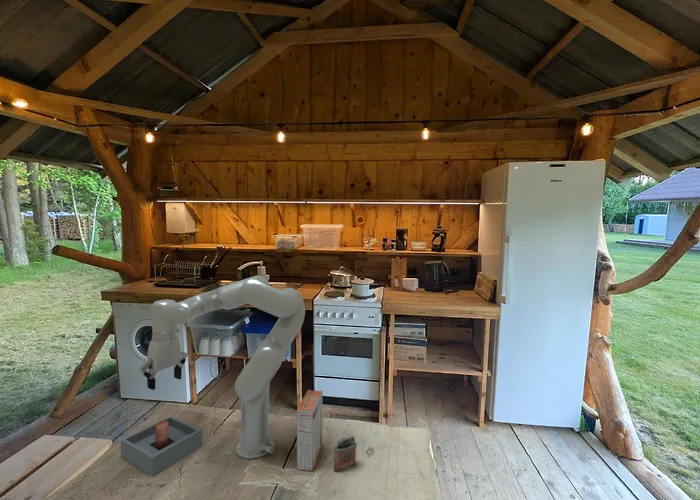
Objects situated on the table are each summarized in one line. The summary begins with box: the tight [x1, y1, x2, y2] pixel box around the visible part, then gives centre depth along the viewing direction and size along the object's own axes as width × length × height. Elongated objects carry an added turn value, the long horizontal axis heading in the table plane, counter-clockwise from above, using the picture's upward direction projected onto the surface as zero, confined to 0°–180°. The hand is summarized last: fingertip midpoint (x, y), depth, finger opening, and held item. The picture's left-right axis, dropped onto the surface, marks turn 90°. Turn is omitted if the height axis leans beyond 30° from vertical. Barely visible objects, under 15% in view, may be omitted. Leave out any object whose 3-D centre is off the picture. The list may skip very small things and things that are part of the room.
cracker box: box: [296, 389, 323, 472], centre depth 118 cm, size 14×6×21 cm, turn 172°
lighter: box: [333, 435, 357, 474], centre depth 114 cm, size 8×3×10 cm, turn 117°
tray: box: [120, 415, 203, 477], centre depth 119 cm, size 18×18×6 cm
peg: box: [156, 420, 169, 450], centre depth 119 cm, size 4×4×10 cm
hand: (165, 383), depth 120 cm, fingers open, 9 cm apart
